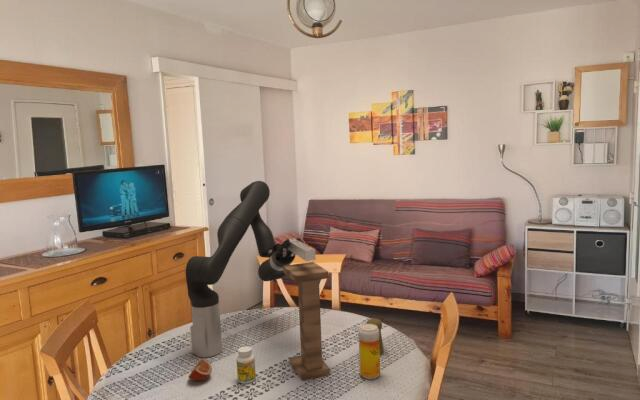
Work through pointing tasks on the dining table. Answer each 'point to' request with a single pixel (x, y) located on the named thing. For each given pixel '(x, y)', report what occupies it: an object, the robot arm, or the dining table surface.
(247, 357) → the supplement bottle
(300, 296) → the walnut stand
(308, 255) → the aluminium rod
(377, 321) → the cork
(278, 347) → the dining table surface
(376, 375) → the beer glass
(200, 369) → the fruit slice
